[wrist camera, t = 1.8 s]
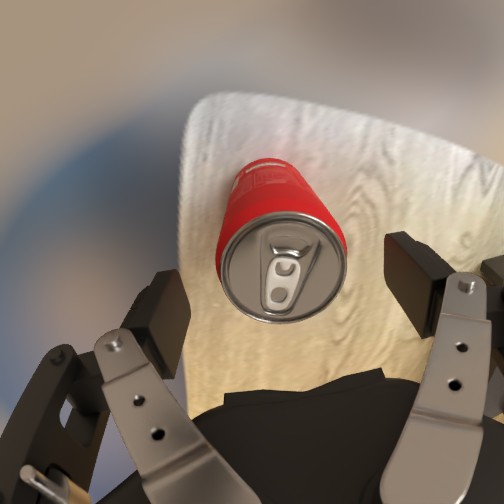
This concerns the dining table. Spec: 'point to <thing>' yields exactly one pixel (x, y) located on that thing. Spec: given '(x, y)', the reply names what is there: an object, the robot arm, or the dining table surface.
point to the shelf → (499, 388)
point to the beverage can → (279, 246)
